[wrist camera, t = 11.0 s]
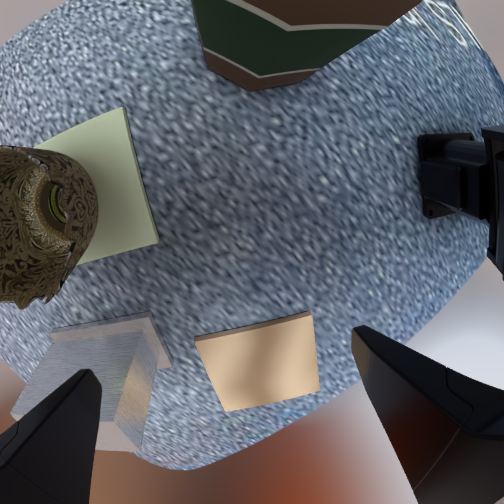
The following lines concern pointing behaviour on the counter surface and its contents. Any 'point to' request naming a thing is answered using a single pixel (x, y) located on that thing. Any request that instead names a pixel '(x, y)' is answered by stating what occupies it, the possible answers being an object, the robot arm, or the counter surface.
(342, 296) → the counter surface
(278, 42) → the beer bottle
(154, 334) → the box
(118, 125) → the sage mat
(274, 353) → the oak mat
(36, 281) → the brown ornate lampshade
